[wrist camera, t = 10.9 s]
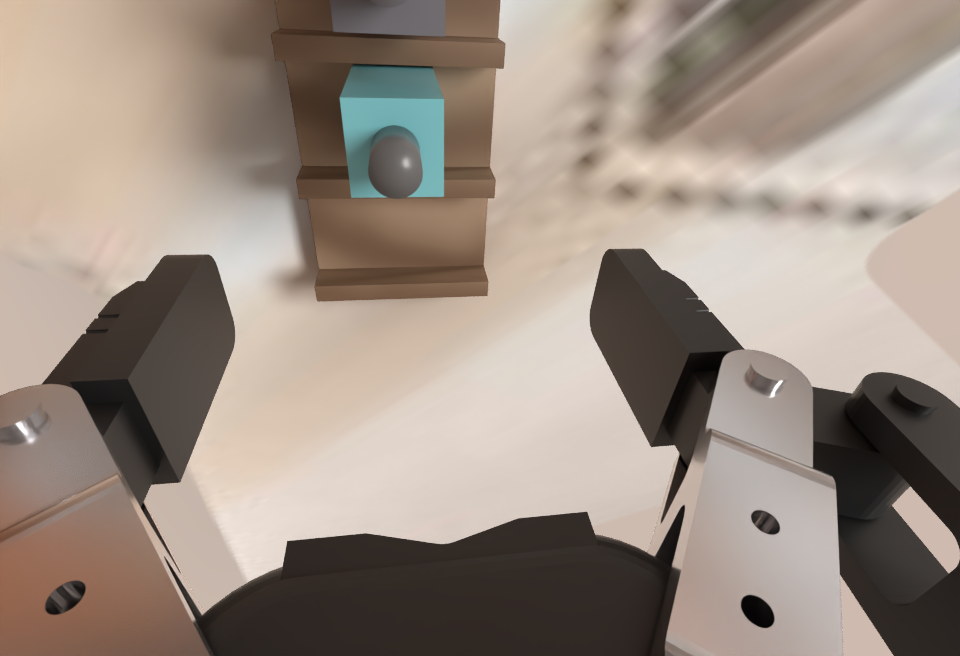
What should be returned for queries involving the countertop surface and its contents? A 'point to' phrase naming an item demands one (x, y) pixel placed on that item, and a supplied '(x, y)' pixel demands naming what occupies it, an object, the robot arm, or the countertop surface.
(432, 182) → the teal plug
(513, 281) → the countertop surface
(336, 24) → the charcoal plug
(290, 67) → the wooden slotted rack
